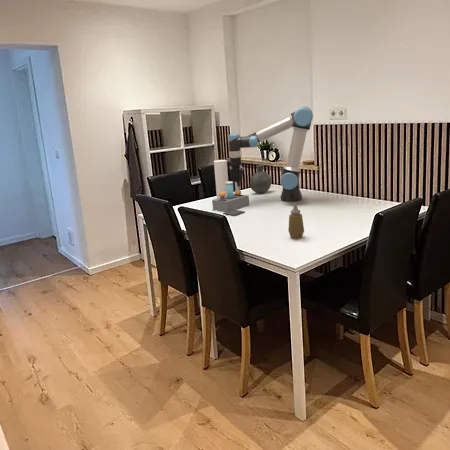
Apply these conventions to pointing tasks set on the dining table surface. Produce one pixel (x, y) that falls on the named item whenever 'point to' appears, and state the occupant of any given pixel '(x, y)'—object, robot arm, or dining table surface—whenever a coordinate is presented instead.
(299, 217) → the squeeze bottle
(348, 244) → the dining table surface
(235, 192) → the plunger
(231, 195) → the block
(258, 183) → the flask
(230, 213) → the mat
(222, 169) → the cylinder container
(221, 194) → the plunger
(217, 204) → the block
